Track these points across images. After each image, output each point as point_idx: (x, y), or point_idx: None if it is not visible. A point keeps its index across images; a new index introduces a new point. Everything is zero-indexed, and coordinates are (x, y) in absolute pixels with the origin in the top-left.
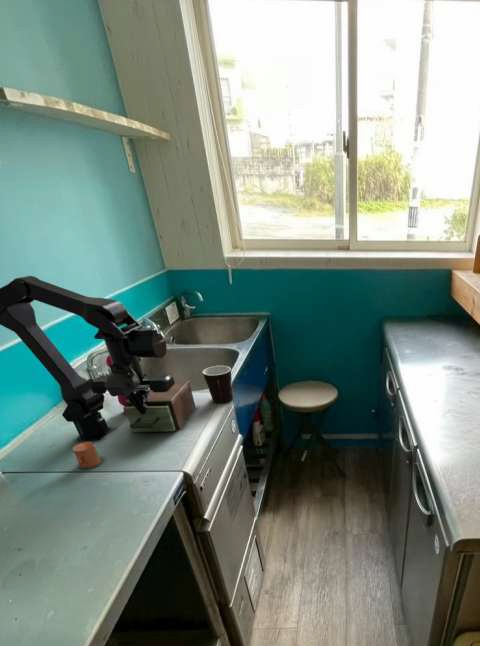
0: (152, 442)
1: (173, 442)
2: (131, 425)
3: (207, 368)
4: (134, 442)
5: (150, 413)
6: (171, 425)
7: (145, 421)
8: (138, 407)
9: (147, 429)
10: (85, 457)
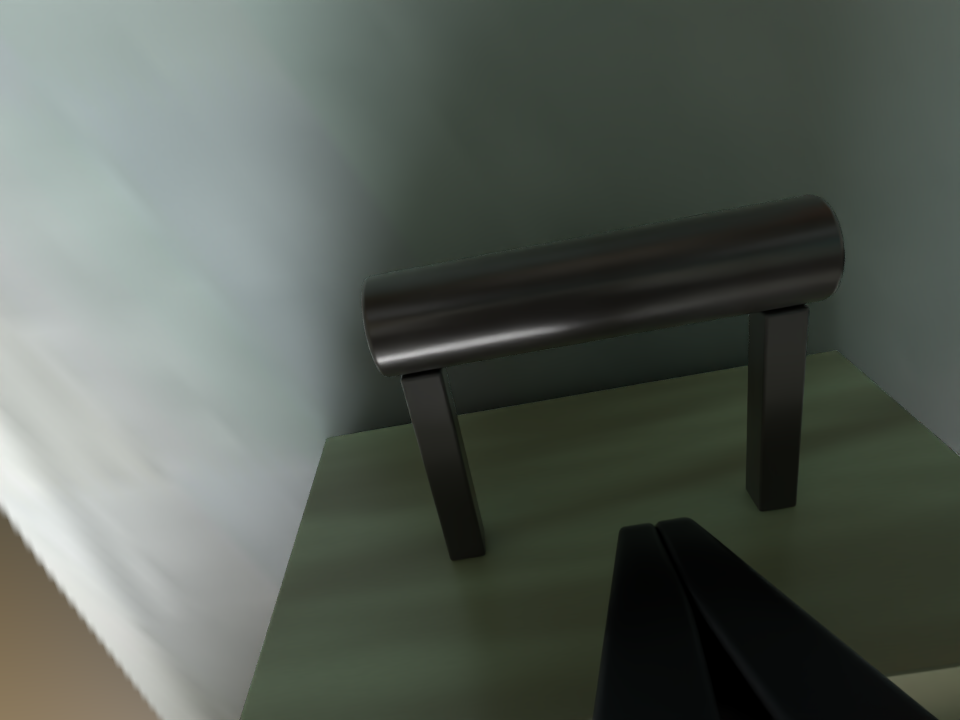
0: (485, 193)
1: (207, 234)
2: (801, 219)
3: None
4: (731, 157)
5: (587, 603)
6: (323, 486)
7: (680, 476)
8: (753, 662)
9: (652, 397)
10: None
